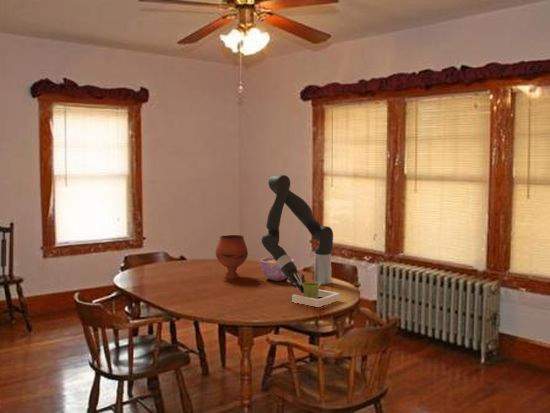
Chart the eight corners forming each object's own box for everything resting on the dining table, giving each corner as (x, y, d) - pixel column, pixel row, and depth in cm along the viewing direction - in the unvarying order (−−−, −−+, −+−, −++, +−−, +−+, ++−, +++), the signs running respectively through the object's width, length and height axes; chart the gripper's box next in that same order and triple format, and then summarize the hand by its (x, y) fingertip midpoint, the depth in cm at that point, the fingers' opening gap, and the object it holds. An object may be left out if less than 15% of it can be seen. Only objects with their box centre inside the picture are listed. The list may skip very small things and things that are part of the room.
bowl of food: (290, 283, 324) (290, 264, 323) (256, 282, 328) (256, 262, 327) (296, 276, 343) (296, 257, 342) (264, 274, 347) (264, 256, 346)
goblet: (249, 274, 349) (249, 234, 347) (245, 281, 330) (245, 238, 327) (219, 273, 351) (219, 233, 348) (212, 280, 332) (212, 238, 329)
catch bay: (313, 295, 297) (313, 288, 297) (339, 301, 286) (339, 293, 286) (292, 302, 283) (292, 294, 283) (318, 308, 273) (318, 300, 272)
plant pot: (305, 303, 281) (306, 286, 280) (299, 299, 290) (299, 282, 289) (323, 302, 284) (323, 285, 283) (315, 297, 293) (316, 281, 292)
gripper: (282, 262, 289) (300, 290, 282) (298, 259, 299) (316, 285, 292) (274, 271, 293) (292, 298, 286) (290, 267, 303) (308, 294, 296)
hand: (304, 292), depth 289 cm, fingers closed
